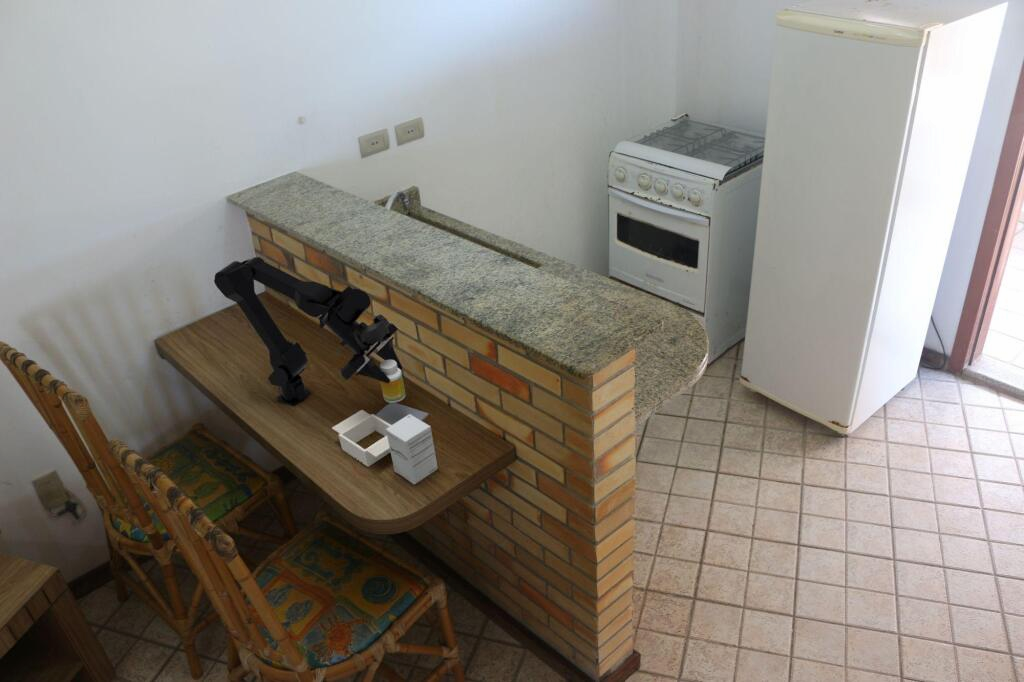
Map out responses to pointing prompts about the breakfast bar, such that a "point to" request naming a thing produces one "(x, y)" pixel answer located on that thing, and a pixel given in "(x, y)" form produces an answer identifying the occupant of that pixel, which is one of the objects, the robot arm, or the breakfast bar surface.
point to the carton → (357, 430)
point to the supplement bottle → (392, 382)
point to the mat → (399, 413)
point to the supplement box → (412, 448)
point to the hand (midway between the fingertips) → (395, 375)
